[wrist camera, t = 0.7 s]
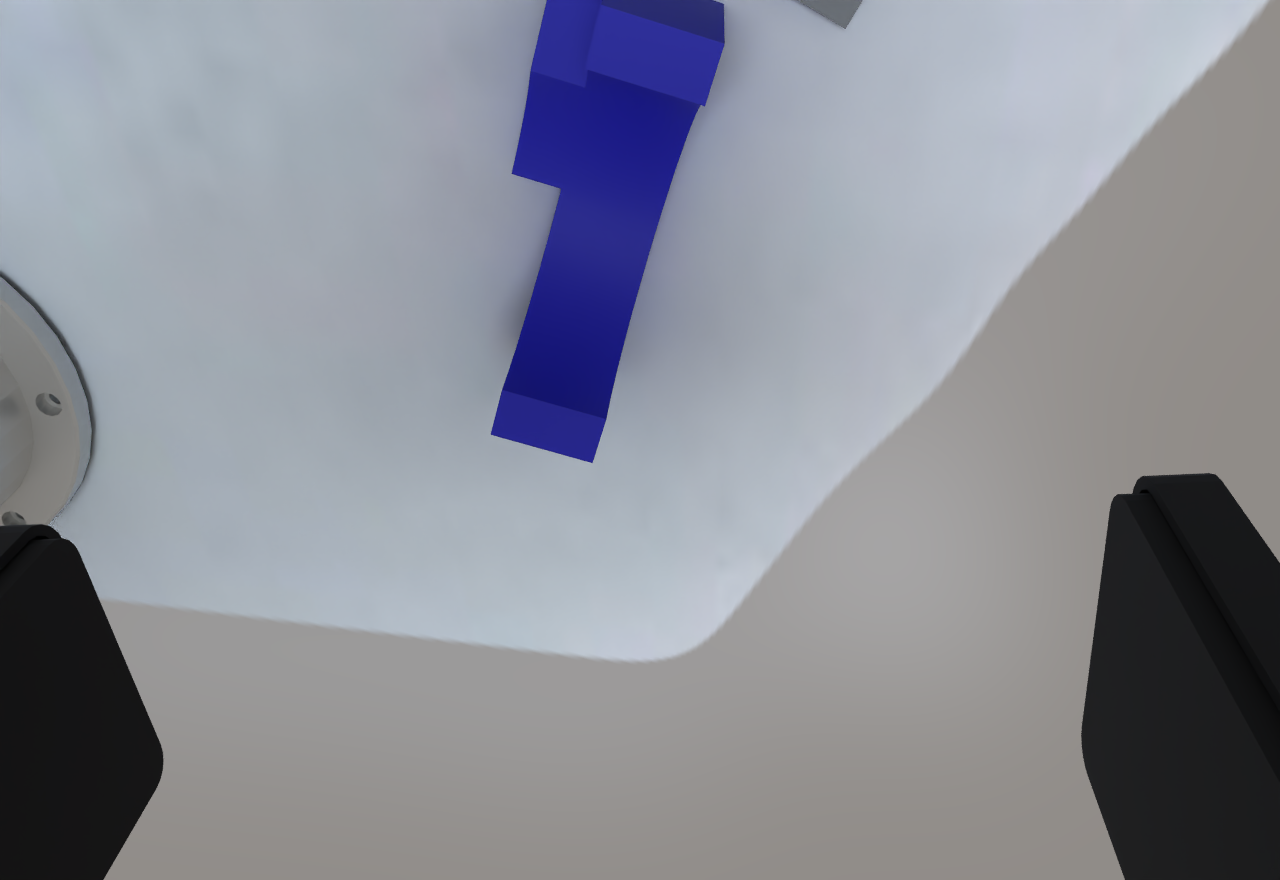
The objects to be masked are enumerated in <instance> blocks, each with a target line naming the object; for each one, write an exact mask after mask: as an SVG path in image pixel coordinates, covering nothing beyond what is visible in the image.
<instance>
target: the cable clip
mask: <svg viewBox="0 0 1280 880" xmlns="http://www.w3.org/2000/svg"><path fill="white" fill-rule="evenodd" d="M724 44H725V41H724V4H722V3H719V2H716V1H713V0H547V2H546V7H545V11H544V15H543V19H542V24H541V28H540V32H539V37H538V41H537V45H536V50H535V54H534V58H533V63H532V67H531V72H530V80H529V88H528V95H527V101H526V107H525V113H524V118H523V123H522V128H521V133H520V138H519V143H518V148H517V152H516V157H515V161H514V166H513V170H512V174H514V175H517V176H521V177H524V178H527V179H531V180H534V181H537V182H541V183H544V184H547V185H551V186H554V187H557V188H561V192H560V196H559V200H558V204H557V207H556V211H555V215H554V219H553V222H552V226H551V230H550V233H549V237H548V241H547V244H546V248H545V251H544V255H543V259H542V262H541V266H540V269H539V273H538V276H537V280H536V283H535V287H534V290H533V294H532V297H531V300H530V304H529V307H528V311H527V314H526V317H525V321H524V324H523V327H522V331H521V334H520V337H519V340H518V344H517V347H516V350H515V353H514V356H513V359H512V362H511V365H510V368H509V371H508V374H507V377H506V380H505V383H504V386H503V389H502V392H501V396H500V400H499V404H498V408H497V412H496V416H495V420H494V423H493V427H492V431H491V435H494V436H498V437H501V438H505V439H508V440H512V441H516V442H519V443H523V444H526V445H530V446H533V447H537V448H541V449H544V450H548V451H551V452H555V453H559V454H562V455H566V456H569V457H573V458H576V459H580V460H584V461H587V462H591V463H593V460H594V456H595V453H596V450H597V447H598V444H599V441H600V437H601V434H602V431H603V428H604V425H605V422H606V418H607V413H608V408H609V403H610V398H611V394H612V389H613V385H614V381H615V377H616V373H617V369H618V365H619V361H620V357H621V353H622V349H623V345H624V341H625V337H626V334H627V330H628V326H629V322H630V319H631V315H632V311H633V308H634V304H635V301H636V297H637V293H638V290H639V286H640V283H641V279H642V276H643V272H644V269H645V266H646V262H647V259H648V255H649V252H650V249H651V245H652V242H653V239H654V235H655V232H656V229H657V225H658V222H659V219H660V216H661V213H662V209H663V206H664V203H665V200H666V197H667V194H668V191H669V188H670V184H671V181H672V178H673V175H674V172H675V169H676V166H677V163H678V161H679V158H680V155H681V152H682V149H683V146H684V143H685V141H686V138H687V135H688V133H689V130H690V127H691V125H692V122H693V120H694V117H695V115H696V113H697V111H698V109H699V107H700V105H703V106H705V104H706V101H707V98H708V95H709V92H710V88H711V85H712V82H713V79H714V76H715V73H716V69H717V66H718V63H719V60H720V57H721V53H722V50H723V47H724Z"/></svg>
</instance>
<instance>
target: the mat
mask: <svg viewBox="0 0 1280 880" xmlns="http://www.w3.org/2000/svg"><path fill="white" fill-rule="evenodd" d="M798 1H799V2H801V3H803V4H804V5H806V6H808V7H809V8H811V9H813V10H814V11H816V12H818V13H819V14H821V15H823V16H824V17H826V18H828V19H830V20H831V21H833V22H835V23H836V24H838V25H840V26H841V27H843V28H845V29H846V27H847V25H848V24H849V22H850V20H851V19H852V17H853V15H854V14H855V12H856V10H857V9H858V7H859V5H860V4H861V2H862V0H798Z"/></svg>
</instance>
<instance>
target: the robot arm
mask: <svg viewBox="0 0 1280 880" xmlns="http://www.w3.org/2000/svg"><path fill="white" fill-rule="evenodd" d="M91 434H92V429H91V422H90V416H89V409H88V403H87V399H86V396H85V393H84V390H83V388H82V385H81V382H80V379H79V377H78V374H77V371H76V368H75V367H74V365H73V363H72V361H71V360H70V358H69V356H68V355H67V353H66V351H65V349H64V348H63V346H62V344H61V342H60V341H59V339H58V337H57V336H56V335H55V333H54V332H53V331H52V330H51V328H50V327H49V326H48V325H47V323H46V322H45V321H44V320H43V318H42V317H41V316H40V315H39V313H38V312H37V311H36V310H35V308H34V307H33V306H32V305H31V304H30V303H29V302H28V301H26V300H25V299H24V298H23V297H22V296H21V295H20V294H19V293H18V292H17V291H16V290H15V289H14V288H13V287H12V286H10V285H9V284H8V283H7V282H6V281H5V280H4V279H3V278H1V277H0V880H103V879H104V878H105V876H106V874H107V872H108V871H109V869H110V867H111V866H112V864H113V862H114V860H115V859H116V857H117V855H118V854H119V852H120V850H121V848H122V847H123V845H124V843H125V841H126V840H127V838H128V836H129V835H130V833H131V831H132V830H133V828H134V826H135V824H136V823H137V821H138V819H139V818H140V816H141V814H142V812H143V811H144V809H145V807H146V805H147V804H148V802H149V800H150V799H151V797H152V795H153V793H154V792H155V790H156V788H157V786H158V784H159V781H160V779H161V775H162V771H163V752H162V748H161V744H160V742H159V739H158V737H157V735H156V732H155V730H154V728H153V725H152V723H151V720H150V718H149V716H148V714H147V711H146V709H145V706H144V704H143V702H142V699H141V697H140V695H139V692H138V690H137V688H136V685H135V683H134V681H133V678H132V676H131V673H130V671H129V669H128V666H127V664H126V662H125V659H124V657H123V655H122V652H121V650H120V648H119V645H118V643H117V641H116V638H115V636H114V633H113V631H112V629H111V626H110V624H109V622H108V619H107V617H106V615H105V612H104V610H103V608H102V605H101V603H100V601H99V598H98V596H97V594H96V591H95V589H94V586H93V584H92V582H91V579H90V577H89V575H88V572H87V570H86V568H85V565H84V563H83V561H82V558H81V556H80V554H79V552H78V550H77V548H76V547H75V545H74V544H73V543H72V542H70V541H69V540H66V539H63V538H61V536H60V535H59V533H58V532H57V531H55V530H54V529H53V528H52V527H50V526H47V525H48V524H49V523H50V522H51V521H52V520H53V519H54V518H55V517H56V516H57V515H58V514H59V513H60V512H61V511H62V509H63V508H64V507H65V506H66V505H67V504H68V503H69V501H70V500H71V498H72V497H73V495H74V494H75V492H76V491H77V489H78V488H79V486H80V485H81V483H82V481H83V477H84V474H85V471H86V468H87V465H88V462H89V459H90V449H91ZM1081 734H1082V735H1081V737H1082V750H1083V758H1084V763H1085V768H1086V771H1087V774H1088V777H1089V780H1090V783H1091V786H1092V789H1093V791H1094V794H1095V797H1096V800H1097V803H1098V805H1099V808H1100V811H1101V814H1102V816H1103V819H1104V822H1105V825H1106V828H1107V830H1108V833H1109V836H1110V839H1111V842H1112V844H1113V847H1114V850H1115V853H1116V856H1117V859H1118V861H1119V864H1120V867H1121V870H1122V873H1123V875H1124V878H1125V880H1280V563H1279V561H1278V560H1277V558H1276V557H1275V556H1274V554H1273V553H1272V552H1271V550H1270V548H1269V547H1268V546H1267V544H1266V543H1265V541H1264V540H1263V539H1262V537H1261V536H1260V534H1259V533H1258V532H1257V530H1256V529H1255V527H1254V526H1253V524H1252V523H1251V522H1250V520H1249V519H1248V517H1247V516H1246V514H1245V513H1244V512H1243V510H1242V509H1241V507H1240V506H1239V505H1238V503H1237V502H1236V500H1235V499H1234V497H1233V496H1232V494H1231V493H1230V492H1229V490H1228V489H1227V487H1226V486H1225V485H1224V483H1223V482H1222V481H1221V480H1220V479H1219V478H1218V477H1217V476H1216V475H1215V474H1210V473H1205V474H1182V475H1159V476H1142V477H1141V478H1140V479H1138V480H1137V482H1136V484H1135V486H1134V489H1133V494H1118V495H1116V496H1115V497H1114V498H1113V501H1112V503H1111V508H1110V513H1109V521H1108V530H1107V537H1106V544H1105V553H1104V560H1103V567H1102V575H1101V583H1100V591H1099V599H1098V606H1097V614H1096V622H1095V629H1094V637H1093V645H1092V653H1091V660H1090V668H1089V676H1088V683H1087V691H1086V699H1085V707H1084V715H1083V722H1082V733H1081Z"/></svg>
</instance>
